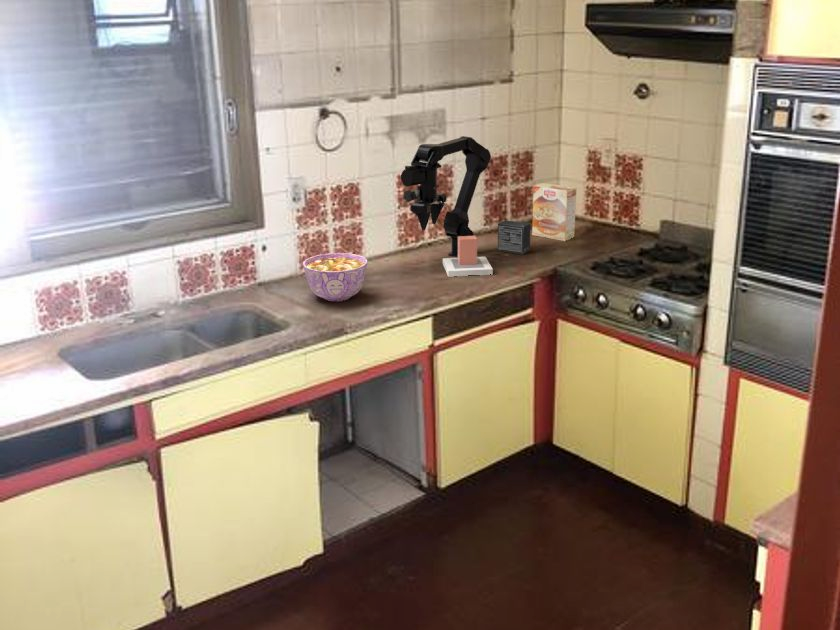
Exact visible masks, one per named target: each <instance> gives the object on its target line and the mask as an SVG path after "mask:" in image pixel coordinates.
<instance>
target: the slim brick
mask: <svg viewBox="0 0 840 630" xmlns="http://www.w3.org/2000/svg"><path fill="white" fill-rule="evenodd" d="M477 257H478V237H477V236H476V235H473V236H458V256H457V258H458V263H459V265H475V264H477Z"/></svg>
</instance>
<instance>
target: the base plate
mask: <svg viewBox="0 0 840 630" xmlns="http://www.w3.org/2000/svg"><path fill="white" fill-rule="evenodd" d="M442 265H443V268H444V270H445V272H446V274H447V277H449V278H452V277H454V276H457V277H469V276H468V275H480V276H493V275H494V274H493V273H494V269H493V267H492V266H491V263H490V262H489V260H488V259H487V257H486V256H477V264H475V265H459V263H458V257H445V258H442ZM490 274H491V275H490Z"/></svg>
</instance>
